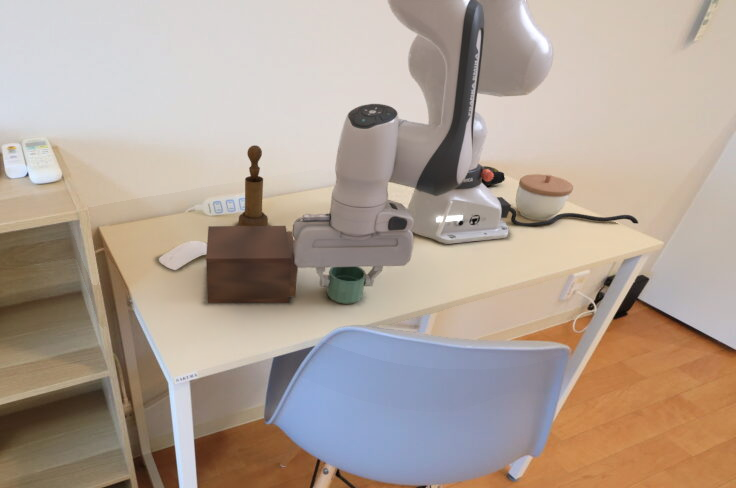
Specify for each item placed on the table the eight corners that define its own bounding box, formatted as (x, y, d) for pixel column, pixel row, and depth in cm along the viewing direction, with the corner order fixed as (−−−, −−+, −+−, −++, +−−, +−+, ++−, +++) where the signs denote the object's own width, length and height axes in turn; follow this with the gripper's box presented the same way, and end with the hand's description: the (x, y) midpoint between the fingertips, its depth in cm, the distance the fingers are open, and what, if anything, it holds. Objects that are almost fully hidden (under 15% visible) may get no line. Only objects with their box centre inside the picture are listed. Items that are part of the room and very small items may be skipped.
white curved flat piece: (154, 259, 107) (153, 249, 105) (201, 242, 112) (201, 232, 111) (173, 272, 102) (172, 261, 101) (220, 253, 108) (220, 243, 107)
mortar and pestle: (268, 221, 120) (271, 141, 109) (267, 233, 115) (270, 151, 104) (239, 220, 121) (240, 141, 110) (237, 232, 116) (237, 151, 105)
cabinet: (282, 267, 103) (285, 225, 98) (288, 302, 93) (291, 257, 88) (209, 268, 104) (208, 226, 98) (207, 303, 94) (206, 258, 88)
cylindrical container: (358, 286, 98) (361, 263, 95) (365, 305, 93) (369, 282, 90) (324, 286, 98) (326, 264, 95) (329, 305, 93) (332, 282, 90)
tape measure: (481, 190, 133) (485, 176, 131) (463, 181, 138) (467, 167, 136) (502, 186, 135) (507, 172, 133) (483, 177, 140) (488, 163, 138)
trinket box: (536, 228, 116) (552, 187, 110) (499, 210, 123) (512, 171, 118) (570, 219, 119) (588, 179, 113) (532, 202, 127) (546, 164, 121)
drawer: (295, 265, 102) (298, 231, 98) (301, 296, 93) (305, 260, 89) (221, 265, 103) (220, 231, 98) (220, 297, 94) (219, 261, 89)
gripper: (296, 223, 83) (290, 296, 91) (423, 220, 83) (406, 293, 91) (291, 206, 88) (286, 277, 96) (411, 204, 88) (396, 275, 96)
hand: (345, 285), depth 94 cm, fingers closed on cylindrical container, 6 cm apart
